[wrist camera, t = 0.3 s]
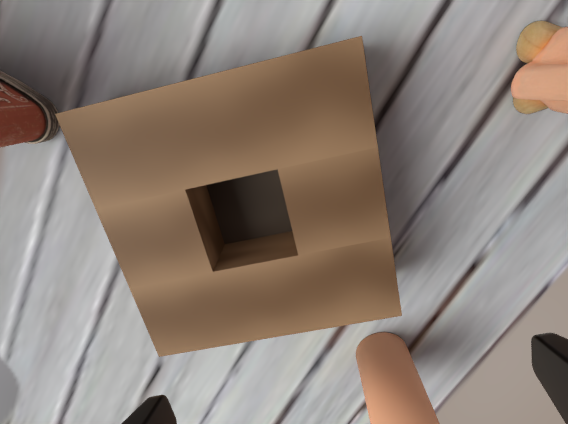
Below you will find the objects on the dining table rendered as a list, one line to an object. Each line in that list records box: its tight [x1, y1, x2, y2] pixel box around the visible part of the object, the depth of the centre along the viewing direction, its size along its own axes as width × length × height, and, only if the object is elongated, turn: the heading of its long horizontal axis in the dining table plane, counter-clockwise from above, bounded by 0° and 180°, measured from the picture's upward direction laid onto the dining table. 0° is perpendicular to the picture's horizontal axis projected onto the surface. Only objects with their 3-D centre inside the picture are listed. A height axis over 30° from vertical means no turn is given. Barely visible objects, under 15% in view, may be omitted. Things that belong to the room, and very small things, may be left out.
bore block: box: [55, 36, 402, 357], centre depth 20 cm, size 14×14×4 cm
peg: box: [356, 332, 439, 424], centre depth 21 cm, size 4×4×8 cm
